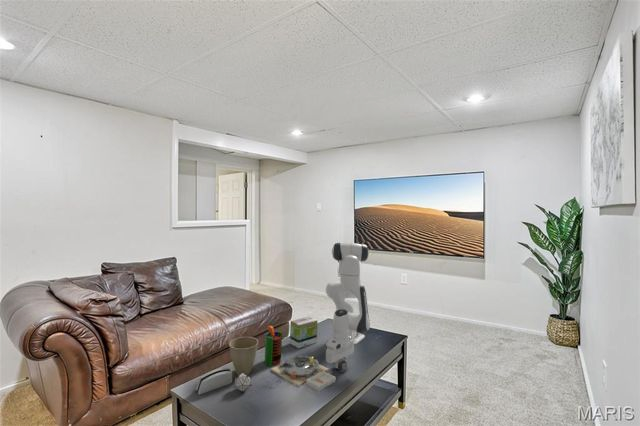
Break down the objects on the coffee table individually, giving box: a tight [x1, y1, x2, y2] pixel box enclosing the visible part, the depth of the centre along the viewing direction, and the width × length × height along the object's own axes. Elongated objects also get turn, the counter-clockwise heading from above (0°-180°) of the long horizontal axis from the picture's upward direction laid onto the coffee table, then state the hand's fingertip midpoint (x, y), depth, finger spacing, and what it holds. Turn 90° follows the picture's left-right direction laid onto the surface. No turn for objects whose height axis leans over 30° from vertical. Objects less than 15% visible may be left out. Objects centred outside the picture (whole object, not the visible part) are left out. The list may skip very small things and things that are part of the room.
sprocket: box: [280, 355, 319, 378], centre depth 176 cm, size 21×21×7 cm
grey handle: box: [195, 367, 233, 395], centre depth 159 cm, size 17×5×10 cm, turn 130°
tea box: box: [289, 316, 318, 349], centre depth 212 cm, size 15×10×15 cm, turn 131°
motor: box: [264, 325, 283, 367], centre depth 186 cm, size 10×9×20 cm
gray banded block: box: [333, 358, 348, 373], centre depth 179 cm, size 4×7×4 cm, turn 37°
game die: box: [233, 371, 252, 394], centre depth 157 cm, size 9×8×10 cm
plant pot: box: [228, 336, 259, 376], centre depth 174 cm, size 15×15×16 cm
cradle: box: [305, 371, 337, 392], centre depth 164 cm, size 12×8×2 cm
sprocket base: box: [270, 355, 330, 387], centre depth 176 cm, size 22×22×1 cm
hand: (340, 365), depth 179 cm, fingers closed on gray banded block, 4 cm apart
